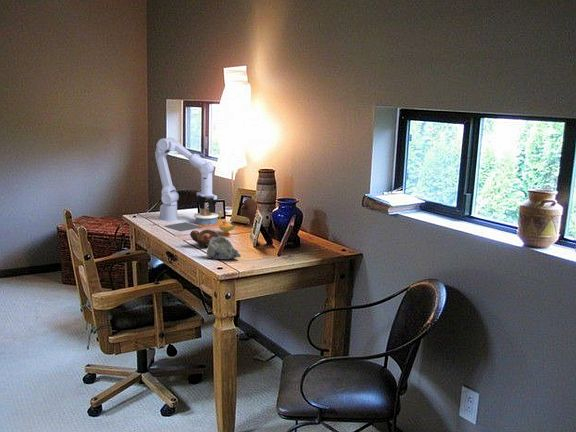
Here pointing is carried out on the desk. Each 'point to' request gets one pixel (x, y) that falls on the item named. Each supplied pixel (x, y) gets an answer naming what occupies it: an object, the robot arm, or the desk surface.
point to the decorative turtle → (203, 237)
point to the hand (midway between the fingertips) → (206, 211)
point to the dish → (206, 221)
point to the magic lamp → (226, 227)
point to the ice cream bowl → (249, 210)
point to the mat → (183, 226)
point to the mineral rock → (221, 249)
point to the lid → (205, 214)
